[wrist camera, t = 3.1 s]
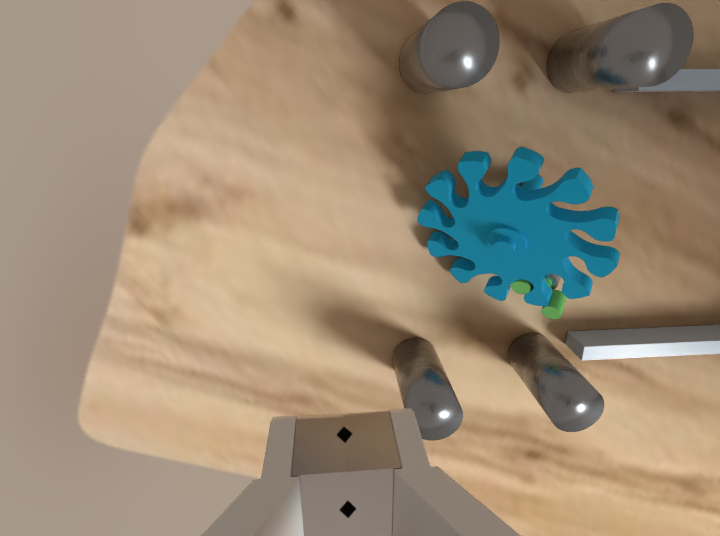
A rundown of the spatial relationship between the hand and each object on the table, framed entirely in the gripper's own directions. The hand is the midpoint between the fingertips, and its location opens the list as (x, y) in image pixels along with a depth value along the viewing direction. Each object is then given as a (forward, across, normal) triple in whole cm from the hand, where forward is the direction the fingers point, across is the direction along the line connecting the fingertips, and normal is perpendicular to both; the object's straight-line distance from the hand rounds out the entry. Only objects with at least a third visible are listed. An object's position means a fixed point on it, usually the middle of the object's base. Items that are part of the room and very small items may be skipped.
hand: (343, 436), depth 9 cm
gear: (+17, +10, 0) cm, 20 cm away
